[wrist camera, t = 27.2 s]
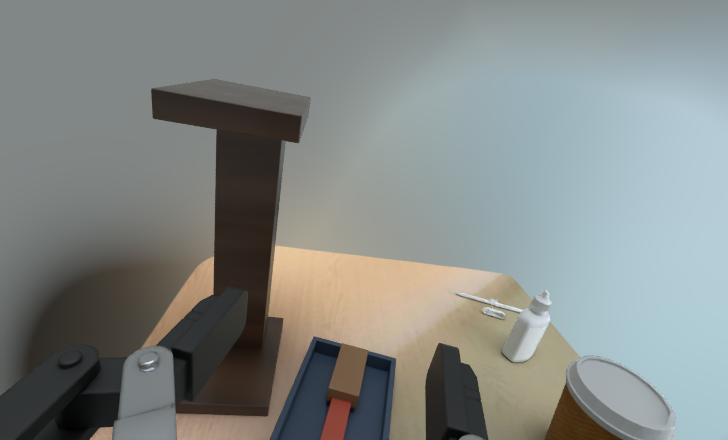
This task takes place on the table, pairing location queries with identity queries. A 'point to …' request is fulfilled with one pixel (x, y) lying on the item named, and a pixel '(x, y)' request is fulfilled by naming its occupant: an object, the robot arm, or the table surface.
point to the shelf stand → (241, 222)
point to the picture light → (489, 310)
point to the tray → (308, 395)
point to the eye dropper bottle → (528, 329)
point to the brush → (344, 390)
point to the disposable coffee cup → (609, 405)
